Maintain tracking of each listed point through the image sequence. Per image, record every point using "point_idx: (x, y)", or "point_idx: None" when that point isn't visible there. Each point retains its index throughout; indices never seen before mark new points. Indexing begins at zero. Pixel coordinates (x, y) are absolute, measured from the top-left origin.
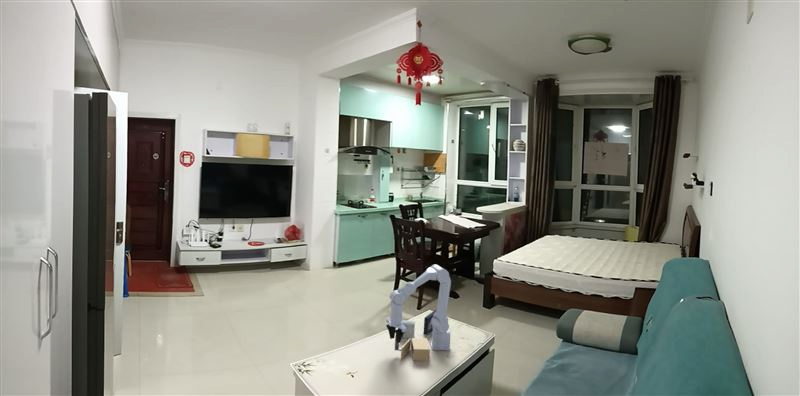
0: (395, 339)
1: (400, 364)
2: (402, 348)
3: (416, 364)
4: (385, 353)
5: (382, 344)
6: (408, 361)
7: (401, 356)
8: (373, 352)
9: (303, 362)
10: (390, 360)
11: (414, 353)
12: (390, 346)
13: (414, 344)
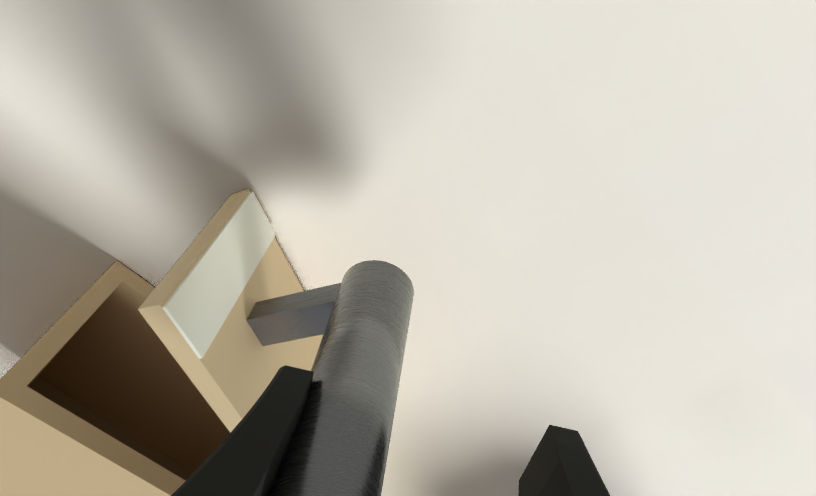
0: (343, 433)
1: (113, 50)
2: (142, 304)
3: (13, 217)
4: (558, 153)
5: (774, 331)
6: (133, 207)
7: (224, 209)
8: (795, 14)
9: None
10: (320, 25)
11: (39, 340)
12: (624, 354)
13: (139, 494)
